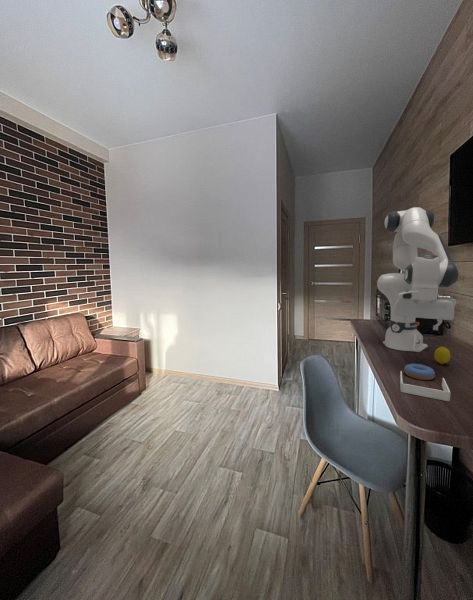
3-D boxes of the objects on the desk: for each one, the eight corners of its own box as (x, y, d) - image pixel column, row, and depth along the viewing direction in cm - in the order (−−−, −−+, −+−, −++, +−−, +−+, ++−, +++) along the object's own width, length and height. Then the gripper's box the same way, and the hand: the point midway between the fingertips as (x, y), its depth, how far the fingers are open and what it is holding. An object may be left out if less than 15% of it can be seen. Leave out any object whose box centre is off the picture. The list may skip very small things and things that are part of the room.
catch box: (399, 378, 102) (400, 370, 102) (443, 386, 96) (444, 378, 95) (400, 391, 91) (401, 383, 91) (449, 401, 85) (450, 392, 84)
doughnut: (419, 382, 99) (421, 369, 98) (397, 373, 108) (398, 362, 108) (441, 382, 101) (442, 370, 101) (417, 373, 111) (418, 362, 110)
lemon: (430, 363, 119) (432, 345, 118) (438, 361, 121) (440, 344, 120) (444, 367, 114) (446, 349, 113) (452, 365, 116) (454, 347, 115)
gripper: (455, 295, 106) (451, 330, 108) (395, 293, 116) (392, 324, 118) (458, 297, 101) (454, 333, 102) (395, 294, 111) (392, 327, 112)
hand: (421, 328), depth 110 cm, fingers open, 8 cm apart
